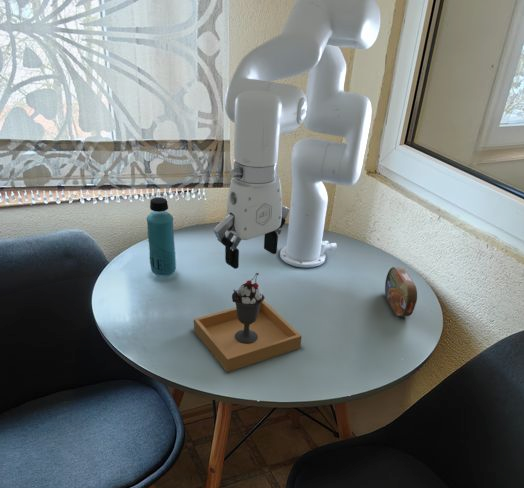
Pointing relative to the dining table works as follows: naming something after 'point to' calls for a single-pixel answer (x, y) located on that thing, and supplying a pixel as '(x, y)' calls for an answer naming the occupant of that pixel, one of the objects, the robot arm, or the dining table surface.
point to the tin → (400, 292)
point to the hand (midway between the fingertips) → (251, 258)
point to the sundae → (247, 309)
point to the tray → (243, 354)
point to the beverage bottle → (161, 238)
